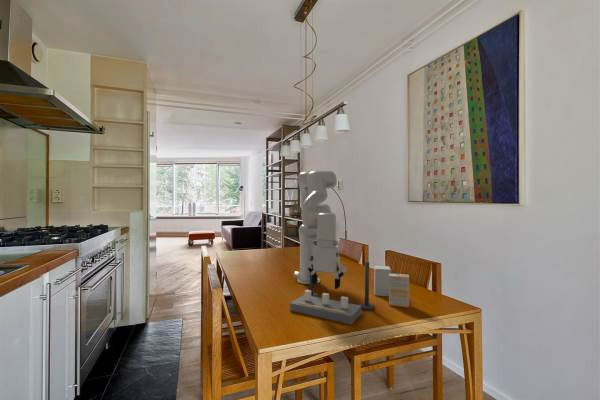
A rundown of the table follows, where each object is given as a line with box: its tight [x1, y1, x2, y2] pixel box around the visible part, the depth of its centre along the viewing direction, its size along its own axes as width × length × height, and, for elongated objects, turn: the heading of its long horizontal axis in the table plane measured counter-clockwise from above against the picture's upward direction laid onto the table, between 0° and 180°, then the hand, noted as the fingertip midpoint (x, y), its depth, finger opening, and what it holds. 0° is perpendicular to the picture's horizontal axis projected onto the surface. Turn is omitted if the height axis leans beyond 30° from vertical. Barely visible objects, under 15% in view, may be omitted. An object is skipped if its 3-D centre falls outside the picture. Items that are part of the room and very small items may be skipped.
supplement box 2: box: [388, 272, 410, 309], centre depth 127 cm, size 8×5×13 cm, turn 71°
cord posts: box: [309, 256, 375, 311], centre depth 130 cm, size 32×6×19 cm, turn 61°
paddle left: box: [304, 289, 311, 301], centre depth 122 cm, size 2×2×4 cm
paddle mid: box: [321, 292, 330, 305], centre depth 118 cm, size 2×2×4 cm
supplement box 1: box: [373, 265, 392, 297], centre depth 142 cm, size 7×7×13 cm
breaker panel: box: [289, 294, 363, 325], centre depth 118 cm, size 26×12×3 cm, turn 61°
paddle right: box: [340, 295, 349, 309], centre depth 114 cm, size 2×2×4 cm
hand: (325, 286), depth 118 cm, fingers open, 9 cm apart
